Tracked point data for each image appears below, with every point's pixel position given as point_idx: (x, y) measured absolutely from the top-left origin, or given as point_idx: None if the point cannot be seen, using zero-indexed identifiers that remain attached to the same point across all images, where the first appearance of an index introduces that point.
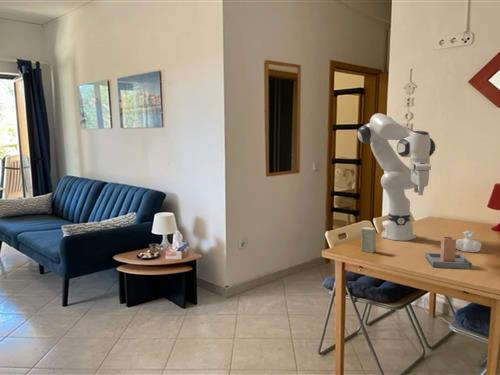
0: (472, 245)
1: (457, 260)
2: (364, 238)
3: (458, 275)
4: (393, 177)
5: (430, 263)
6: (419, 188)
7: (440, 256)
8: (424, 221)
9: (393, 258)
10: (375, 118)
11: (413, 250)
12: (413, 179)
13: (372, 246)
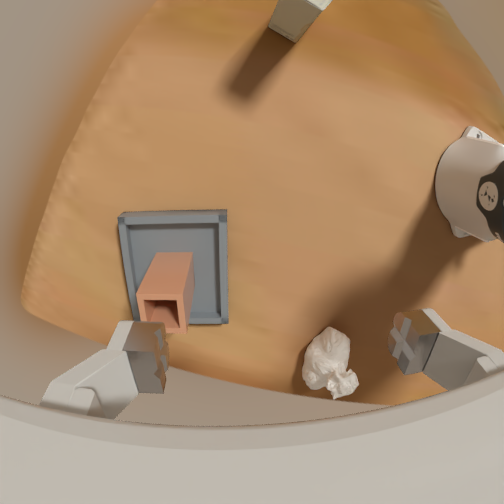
0: (311, 369)
1: None
2: None
3: (72, 264)
4: None
5: (153, 211)
6: (55, 380)
7: (189, 256)
8: None
9: (203, 91)
10: None
11: (322, 188)
12: (497, 436)
13: (273, 19)
